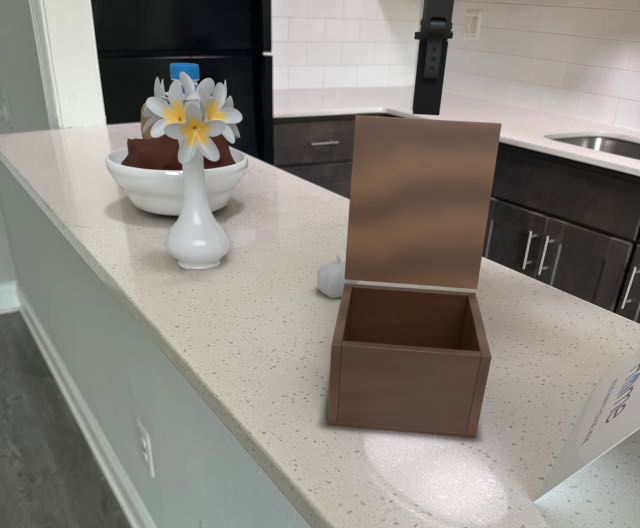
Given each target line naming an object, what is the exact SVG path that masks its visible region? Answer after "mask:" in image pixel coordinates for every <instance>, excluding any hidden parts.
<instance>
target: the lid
mask: <svg viewBox="0 0 640 528" xmlns="http://www.w3.org/2000/svg"><path fill="white" fill-rule="evenodd" d="M501 130H502V123H501V122H488V121H487V122H486V121H467V120H452V119H451V120H449V119H431V118H415V117H414V118H411V117H394V116H393V117H392V116H376V115H359V114H358V115H357V114H356V115H355V117H354V131H353V145H352V160H351V176H350V188H349V189H350V191H349V204H348V205H349V207H348V218H347V235H346V250H345V262H344V263H345V277H344V279H345V280H356V281H359V282H360V281H361V282H373V283H374V282H375V283H386V284H387V283H388V284H402V285H414V286H415V285H416V286H428V287H429V286H430V287H441V288H442V287H443V288H454V289H455V288H457V289H470V290H477V289H478V287H479V286H478V285H479V280H480V272H481V266H482V258H483V253H484V245H485V240H486V239H485V238H486V233H487V225H488V219H489V212H490V205H491V199H492V198H491V197H492V191H493V184H494V178H495V171H496V163H497V158H498V151H499V144H500V138H501Z"/></svg>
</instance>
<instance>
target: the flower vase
mask: <svg viewBox="0 0 640 528" xmlns="http://www.w3.org/2000/svg"><path fill="white" fill-rule="evenodd" d="M179 77H180V81H181V83H182V86H183V88H184V90H185V94H184V93H183V91H182V86H181V84H180V82H179V81H174V80H172V81H171V83H170V86H169V89H168V91H165V84H164V78H162V79H161V81H160V79H159V76H156V78H155V80H154V81H155V82H154V86H153V94H154V95H153V96H149V97H148V98H147V99H146V101H145V103H146V105H147V106H146V107H145V109H144V112H143V116H144V117H152V118H150V119H149V120H148V121H147V122H146V124H145V126H144V128H143V130H142V133H143V132H144V131H145V130H147V129H148V128H149V127H150V126H151V125H152V124H153V123H155V122H156V121H157V120H158V121H157V122H156V123H155V124H154V125H153V127H152V129H151V132H150V134H151V136H152V137H153V138H157V137H160V136H162V135H164V134H166V135H167V136H169V137H171V138H173V139H178V143H179V147H180V148H179V151H178V160H179V162H180V163H181V164H182V170H183V204H182V209H181V212H180V215H179V216H178V218H177V219H176V221H175V222H174V223H173V224H172V225H171V227H170V229H169V230H168V232H167V234H166V237H165V245H166V250H167V252H169V254H170V255H171V256H172V257H173V258H175V259H176V260H177V263H178V266H179V267H180V268H181V269H184V270H186V271H188V270H189V269H192V270H193V269H194V270H201V269H202V270H205V269H210V268H214V267H216V266H219V265H220V264H221V259H222V258H223V257H225V255H227V253H228V251H229V250H230V246H231V238H230V235H229V234H228V232H227V230H226V229H225V227H224V226H223V225H222V224H221V223H220V222H219V221H218V220H217V219H216V218H215V216H214V214H213V212H211V209H210V207H209V204H208V199H207V193H206V184H205V174H204V156H205V157H206V158H207V159H209V160H211V161H218V160H219V158H220V154H219V151H218V149H217V147H216V145H215V144H214V142H213V141H212V140H211V139H210V137H209V136H211V137H215V136H218V135H220V134H222V135H223V136H224V137H225V138H226V139H227V141H228V143H230V144H232V145H233V144H235V142H236V139H237V140H238V138H239V139H241V135H240V131H239V128H238V126H237V124H239V123H241V122H242V121H243V114H242V113H241V112H240V111H239V110H238V109H236V108H235V107H234V100H233V97H232V96H231V95H228V88H227V80H226V79H224V83H222V82H217V83H216V85H215V81H214V80H213V78H211V77H206V78H204V79H202V80H201V81H200V82H199V83H198V87H197V89H196V90H195V85H194V83H193V81H192V79H191V78H190V77H189V76H188V75H187V74H186V73H185V72H180V74H179ZM227 95H228V97H227ZM161 117H162V118H163V119H160V118H161ZM159 119H160V120H159Z"/></svg>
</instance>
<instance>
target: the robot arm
mask: <svg viewBox="0 0 640 528" xmlns="http://www.w3.org/2000/svg"><path fill="white" fill-rule="evenodd" d="M454 6H455V0H423V7H422V14H421V19H420V20H419V21H420V22H419V23H420V24H419V26H420V29H419V31H415V32H414V40H415V41H416V40H418V48H417V49H418V51H417V59H416V69H415V80H414V89H413V99H412V109H411V111H412V115H422V116H423V115H424V116H440V112H441V104H442V97H443V87H444V80H445V72H446V63H447V56H448V48H449V41H448V40H453V38H454V31H453V15H454Z"/></svg>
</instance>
